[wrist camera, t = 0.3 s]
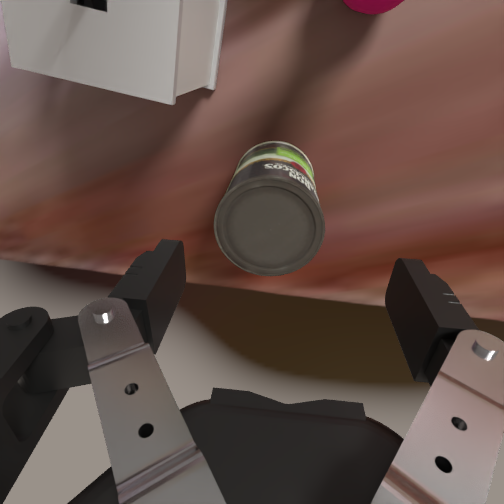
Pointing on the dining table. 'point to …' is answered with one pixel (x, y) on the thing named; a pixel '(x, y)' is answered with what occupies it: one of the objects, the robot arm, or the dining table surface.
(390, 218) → the dining table surface
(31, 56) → the white cabinet
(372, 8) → the pepper mill
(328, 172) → the dining table surface
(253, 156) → the coffee can
